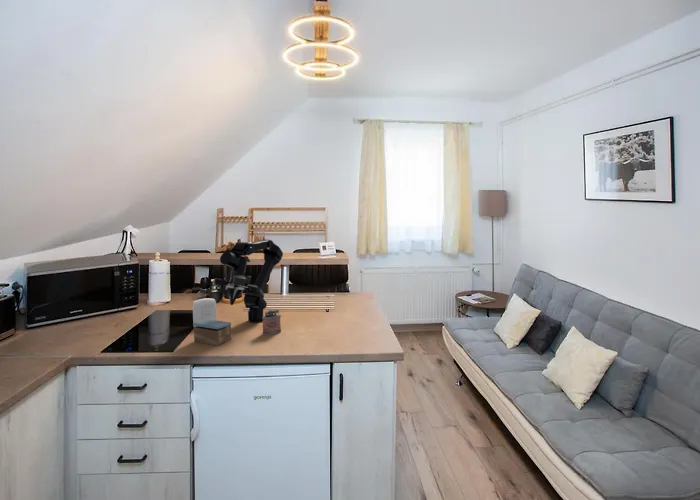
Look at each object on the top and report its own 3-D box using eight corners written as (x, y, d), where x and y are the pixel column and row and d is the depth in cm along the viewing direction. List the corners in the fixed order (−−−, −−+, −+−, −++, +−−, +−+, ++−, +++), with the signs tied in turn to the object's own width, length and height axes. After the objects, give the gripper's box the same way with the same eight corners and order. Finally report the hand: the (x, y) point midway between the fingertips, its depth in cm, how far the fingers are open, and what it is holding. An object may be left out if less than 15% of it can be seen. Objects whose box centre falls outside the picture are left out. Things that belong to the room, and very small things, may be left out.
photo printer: (215, 321, 198) (214, 296, 197) (217, 324, 195) (216, 298, 193) (192, 325, 193) (191, 299, 191) (194, 328, 189) (193, 301, 188)
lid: (207, 321, 178) (207, 319, 178) (231, 324, 174) (231, 322, 173) (192, 325, 171) (193, 323, 171) (217, 329, 166) (217, 326, 166)
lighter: (263, 335, 179) (263, 312, 178) (261, 333, 182) (261, 310, 181) (282, 332, 183) (281, 309, 182) (279, 330, 186) (279, 308, 185)
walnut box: (208, 335, 179) (207, 322, 178) (231, 339, 174) (230, 325, 174) (194, 341, 172) (193, 327, 171) (217, 345, 167) (217, 331, 166)
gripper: (220, 263, 175) (212, 300, 172) (264, 272, 183) (257, 308, 179) (216, 266, 185) (208, 301, 181) (257, 274, 193) (250, 308, 189)
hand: (231, 305), depth 183 cm, fingers closed
